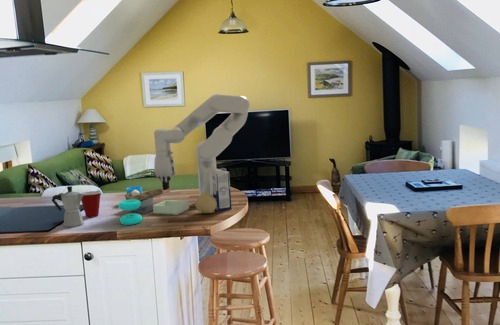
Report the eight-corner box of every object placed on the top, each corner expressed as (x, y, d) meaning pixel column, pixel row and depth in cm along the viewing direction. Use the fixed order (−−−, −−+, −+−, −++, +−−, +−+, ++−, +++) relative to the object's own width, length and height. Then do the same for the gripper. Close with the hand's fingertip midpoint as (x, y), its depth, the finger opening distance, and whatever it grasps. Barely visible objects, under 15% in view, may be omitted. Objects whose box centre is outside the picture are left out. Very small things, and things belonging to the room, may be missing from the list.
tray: (189, 209, 247) (188, 201, 247) (176, 214, 237) (176, 206, 237) (166, 207, 253) (165, 200, 252) (153, 213, 243) (152, 205, 242)
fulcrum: (159, 207, 255) (158, 196, 254) (145, 213, 244) (144, 202, 243) (146, 206, 258) (145, 196, 257) (132, 212, 247) (131, 201, 247)
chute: (173, 189, 259) (171, 181, 259) (152, 197, 243) (150, 189, 242) (149, 194, 266) (147, 187, 266) (126, 202, 250) (124, 194, 249)
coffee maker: (90, 221, 235) (86, 183, 232) (85, 226, 226) (80, 187, 223) (58, 223, 234) (53, 185, 231) (51, 229, 226) (46, 189, 223)
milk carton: (214, 207, 247) (211, 167, 243) (227, 206, 249) (224, 166, 246) (218, 211, 240) (215, 169, 237) (231, 209, 242) (229, 168, 239)
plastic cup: (107, 212, 250) (105, 189, 248) (98, 218, 239) (96, 193, 237) (86, 213, 251) (84, 189, 249) (77, 219, 241) (74, 194, 239)
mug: (139, 204, 264) (137, 189, 262) (124, 204, 266) (123, 189, 264) (148, 199, 275) (147, 184, 274) (134, 199, 277) (133, 184, 276)
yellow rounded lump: (220, 210, 242) (218, 188, 240) (215, 216, 230) (213, 193, 228) (200, 210, 243) (198, 189, 242) (194, 217, 232) (192, 194, 230)
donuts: (142, 201, 224) (120, 204, 220) (144, 223, 226) (122, 226, 222) (138, 197, 233) (116, 200, 230) (140, 218, 235) (118, 221, 231)
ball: (142, 196, 253) (139, 188, 253) (137, 197, 250) (134, 190, 250) (135, 197, 255) (133, 190, 255) (131, 199, 252) (128, 191, 251)
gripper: (179, 152, 254) (182, 188, 257) (155, 152, 261) (158, 187, 263) (171, 154, 248) (174, 191, 250) (146, 154, 254) (149, 190, 257)
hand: (166, 189), depth 257 cm, fingers closed
